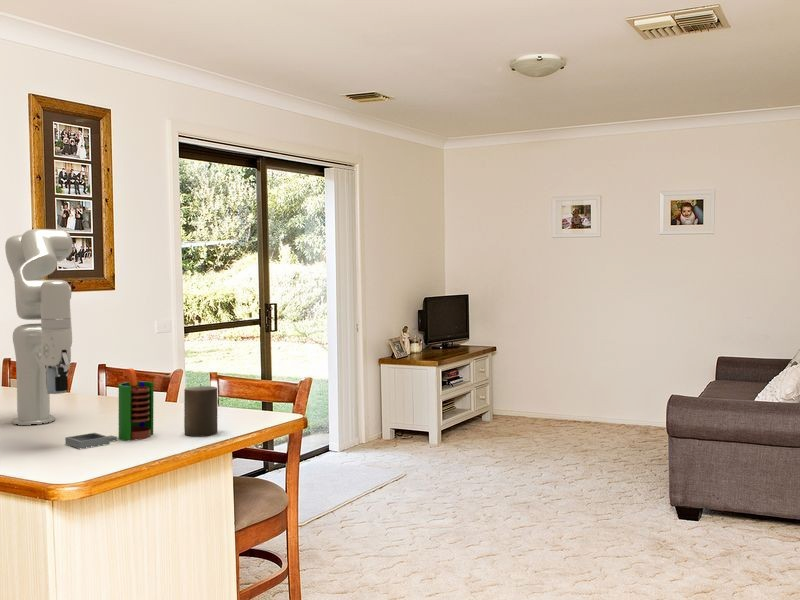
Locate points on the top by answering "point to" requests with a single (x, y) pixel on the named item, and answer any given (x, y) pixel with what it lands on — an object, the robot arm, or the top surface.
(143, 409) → the motor
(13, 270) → the robot arm
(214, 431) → the pillar candle
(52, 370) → the pump
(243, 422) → the top surface
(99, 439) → the grey tray
